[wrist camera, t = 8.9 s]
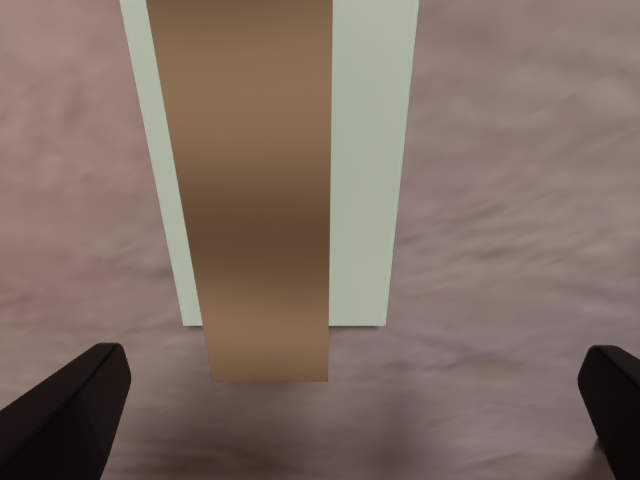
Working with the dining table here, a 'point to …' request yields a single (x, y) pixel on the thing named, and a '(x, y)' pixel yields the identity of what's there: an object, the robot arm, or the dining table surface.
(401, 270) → the dining table surface
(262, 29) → the brown wooden block
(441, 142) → the dining table surface
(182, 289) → the ledge board
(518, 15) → the dining table surface
